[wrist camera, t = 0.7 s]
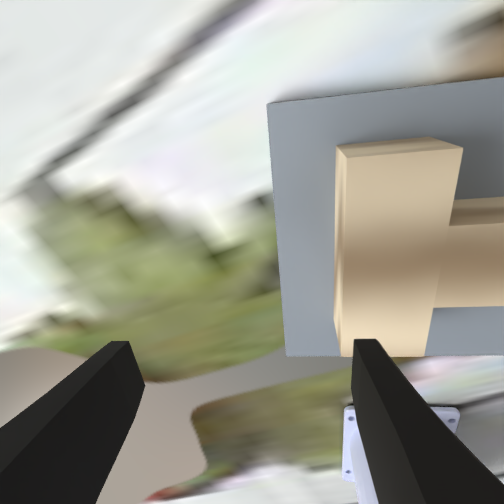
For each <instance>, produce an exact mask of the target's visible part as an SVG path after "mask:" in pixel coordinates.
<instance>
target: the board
mask: <svg viewBox="0 0 504 504" xmlns="http://www.w3.org/2000/svg"><path fill="white" fill-rule="evenodd" d="M267 118H268V130H269V143H270V156H271V169H272V181H273V194H274V207H275V220H276V233H277V245H278V258H279V271H280V284H281V297H282V309H283V322H284V335H285V348H286V356H341V353H340V348H339V343H338V338H337V334H336V329H335V324H334V247H335V169H336V145H345V144H356V143H366V142H377V141H388V140H398V139H409V138H419V137H432V138H435V139H438V140H441V141H444V142H448V143H451V144H454V145H457V146H460V147H463V153H462V158H461V164H460V169H459V174H458V180H457V185H456V190H455V195H454V200H460V199H475V198H490V197H504V77H495V78H486V79H477V80H469V81H460V82H451V83H443V84H434V85H425V86H417V87H408V88H399V89H391V90H382V91H373V92H365V93H356V94H347V95H338V96H330V97H321V98H312V99H304V100H295V101H286V102H278V103H269V104H267ZM471 355H504V306H484V307H442V308H433V312H432V317H431V322H430V328H429V333H428V338H427V343H426V349H425V354H424V356H471Z"/></svg>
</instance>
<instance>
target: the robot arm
mask: <svg viewBox="0 0 504 504" xmlns="http://www.w3.org/2000/svg"><path fill="white" fill-rule="evenodd" d="M144 388H145V384H144V381H143V378H142V375H141V373H140V370H139V367H138V365H137V362H136V359H135V356H134V354H133V351H132V348H131V346H130V343H129V341H111V342H110V343H108V344H107V345H106V346H104V347H103V348H102V349H100V350H99V351H98V352H97V353H95V354H94V355H93V356H92V357H90V358H89V359H88V360H87V361H85V362H84V363H83V364H82V365H80V366H79V367H78V368H77V369H76V370H74V371H73V372H72V373H71V374H70V375H68V376H67V377H66V378H65V379H63V380H62V381H61V382H60V383H58V384H57V385H56V386H55V387H53V388H52V389H51V390H50V391H48V393H46V394H45V395H43V396H42V397H41V398H39V399H38V400H37V401H35V402H34V403H33V404H31V405H30V406H29V407H28V408H26V409H25V410H24V411H22V412H21V413H20V414H19V415H17V416H16V417H14V418H13V419H12V420H10V421H9V422H8V423H6V424H5V425H4V426H2V427H1V428H0V504H96V501H97V499H98V497H99V494H100V492H101V490H102V488H103V486H104V484H105V481H106V479H107V477H108V475H109V473H110V471H111V469H112V466H113V464H114V462H115V460H116V458H117V456H118V453H119V451H120V449H121V447H122V445H123V443H124V441H125V439H126V436H127V434H128V432H129V430H130V428H131V425H132V423H133V421H134V419H135V416H136V413H137V410H138V407H139V404H140V401H141V398H142V394H143V391H144ZM351 390H352V397H353V403H354V406H347V407H346V408H345V409H344V428H343V454H342V478H343V480H344V481H348V482H355V486H356V492H357V497H358V503H359V504H504V484H503V483H502V482H501V481H500V480H499V479H498V478H497V477H496V476H495V475H494V474H493V473H492V472H491V471H490V470H488V469H487V468H486V467H485V466H484V465H483V464H482V463H481V462H480V461H479V459H478V458H477V457H476V456H475V455H474V454H473V453H472V452H471V451H470V450H469V449H468V448H467V447H466V446H465V445H464V444H463V443H462V442H461V441H460V440H459V439H458V438H457V436H456V435H455V432H456V429H457V425H458V422H459V419H460V413H459V411H458V410H457V409H456V408H453V407H430V406H429V405H428V404H427V403H426V402H425V400H424V399H423V398H422V397H421V396H420V394H419V393H418V392H417V391H416V390H415V389H414V387H413V386H412V385H411V384H410V382H409V381H408V380H407V379H406V377H405V376H404V375H403V373H402V372H401V371H400V370H399V368H398V367H397V366H396V364H395V363H394V362H393V360H392V359H391V358H390V356H389V355H388V354H387V352H386V351H385V349H384V348H383V347H382V345H381V344H380V342H379V341H378V340H377V339H354V343H353V362H352V380H351Z"/></svg>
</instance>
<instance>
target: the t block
mask: <svg viewBox="0 0 504 504" xmlns="http://www.w3.org/2000/svg"><path fill="white" fill-rule="evenodd" d="M462 153H463V147H460V146H457V145H454V144H451V143H448V142H444V141H441V140H438V139H435V138H432V137H419V138H409V139H398V140H388V141H377V142H366V143H356V144H345V145H336V169H335V247H334V324H335V329H336V334H337V338H338V343H339V348H340V353H341V357H353V343H354V339H377V340H378V341H379V342H380V344H381V345H382V347H383V348H384V349H385V351H386V352H387V354H388V355H389V356H390V357H424V354H425V349H426V343H427V338H428V333H429V328H430V322H431V317H432V312H433V308H442V307H484V306H504V197H490V198H475V199H460V200H454V195H455V190H456V185H457V180H458V174H459V169H460V164H461V158H462Z"/></svg>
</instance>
